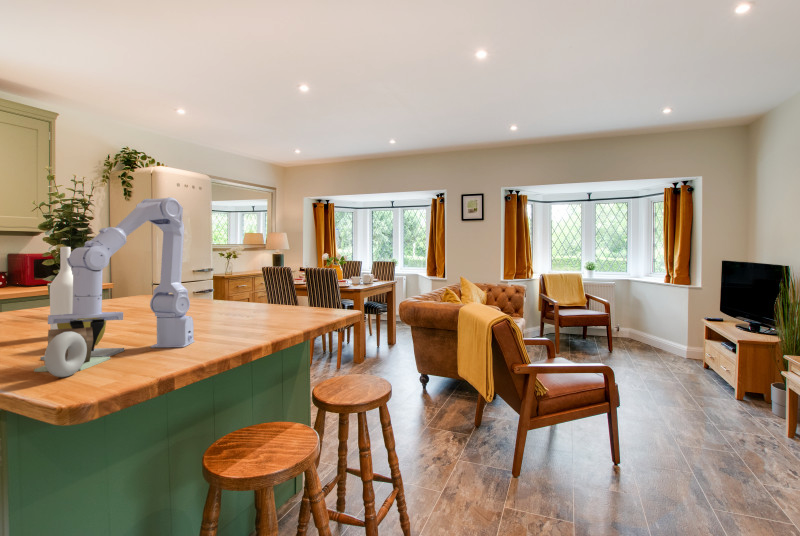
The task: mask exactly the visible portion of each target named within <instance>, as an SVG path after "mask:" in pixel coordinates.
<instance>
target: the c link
mask: <svg viewBox="0 0 800 536" xmlns="http://www.w3.org/2000/svg"><path fill="white" fill-rule="evenodd" d="M47 330H48V331H47V346H48V345H49V343H50V342H51V340H52V339H53V338H54V337H55V336H57V335H59V334H61V333H63V332H70V331H72V332H76V333H78V334H80V335H81V336H82V337H83V338H84V340H85V342H86V346H87V354H86V358H85V361H84V362H90V357H91V351H92V345H93V330H92V327H85V328H78V329H72V328H68V329H52V330H50V329H47ZM67 356H68V348H67V350H66V353H65V360H66V359H67Z"/></svg>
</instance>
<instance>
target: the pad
mask: <svg viewBox="0 0 800 536" xmlns="http://www.w3.org/2000/svg"><path fill="white" fill-rule="evenodd" d="M108 360H111V356H109V357H90V362H84V363H83V365H82V366H81V368H80V369H79V370H78V371H77V372H79V371H81V372H82V371H84V370H86V369H88V368H91V367H93V366H96V365H98V364H101V363H104V362H107V361H108ZM33 372H34V373H35V372H36V373H37V372H49V371H48V370H47V368H46V366H45V365H43V366H39V367H37V368H34V371H33Z"/></svg>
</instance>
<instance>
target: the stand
mask: <svg viewBox="0 0 800 536" xmlns="http://www.w3.org/2000/svg"><path fill="white" fill-rule="evenodd" d="M123 352H125V347H105V348H104V347H103V348H99V347H96V348H95V347H94V351H91V357H112V356H114V355H117V354H120V353H123ZM44 358H45V355H43V356H40V358H39V359H40V361H45V360H44Z"/></svg>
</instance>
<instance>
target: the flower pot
mask: <svg viewBox="0 0 800 536" xmlns="http://www.w3.org/2000/svg"><path fill="white" fill-rule="evenodd" d="M85 319H102V318H79V319H78V320H85ZM91 322H92V321H89V322H83V325H84V328H85V327H90V323H91ZM104 322H105V324H104V326H103V328H102V330H101V331H100V333H99V335H98V338H97V340H96V343H95V346H97V345H99V343H100V342H101V340H102V339H103V336H104V335H105V332H106V326H107V320H106V321H104ZM57 327H58V329H68V328H72V327H71V326H70V323H57Z"/></svg>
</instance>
